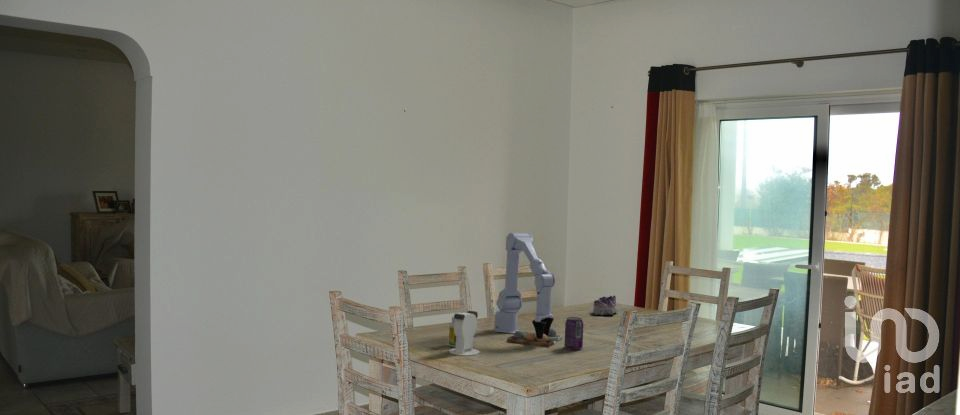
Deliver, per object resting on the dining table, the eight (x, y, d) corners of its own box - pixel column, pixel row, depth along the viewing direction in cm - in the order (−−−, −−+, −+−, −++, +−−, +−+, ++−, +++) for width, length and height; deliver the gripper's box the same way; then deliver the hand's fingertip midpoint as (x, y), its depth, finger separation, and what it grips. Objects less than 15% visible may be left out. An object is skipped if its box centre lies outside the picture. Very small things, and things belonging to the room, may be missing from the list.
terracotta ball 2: (535, 343, 304) (536, 333, 304) (539, 341, 308) (539, 332, 308) (545, 344, 303) (545, 334, 302) (548, 343, 306) (548, 333, 306)
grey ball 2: (545, 338, 315) (545, 328, 315) (548, 336, 319) (548, 327, 319) (554, 339, 314) (554, 329, 314) (557, 337, 317) (557, 328, 317)
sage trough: (513, 338, 314) (513, 335, 314) (522, 334, 325) (522, 330, 324) (554, 343, 307) (554, 340, 307) (562, 339, 317) (562, 335, 317)
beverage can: (584, 347, 302) (585, 317, 302) (580, 351, 296) (581, 320, 295) (566, 345, 305) (567, 316, 304) (562, 349, 298) (563, 318, 298)
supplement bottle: (460, 343, 301) (461, 315, 301) (467, 347, 296) (468, 318, 295) (446, 344, 298) (447, 316, 298) (453, 348, 293) (454, 319, 292)
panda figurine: (460, 347, 295) (461, 308, 294) (485, 351, 289) (487, 312, 289) (443, 352, 285) (444, 312, 284) (469, 357, 279) (470, 316, 278)
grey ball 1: (512, 340, 308) (512, 330, 308) (515, 339, 312) (516, 329, 312) (521, 341, 307) (522, 332, 306) (525, 340, 310) (525, 330, 310)
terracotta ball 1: (524, 342, 306) (524, 332, 306) (527, 340, 310) (527, 330, 310) (533, 343, 305) (533, 333, 304) (536, 341, 308) (537, 331, 308)
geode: (597, 309, 397) (600, 291, 397) (619, 315, 393) (622, 296, 393) (588, 314, 378) (592, 294, 378) (611, 319, 374) (615, 299, 374)
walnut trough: (506, 341, 308) (507, 338, 308) (512, 339, 314) (512, 335, 313) (549, 347, 301) (549, 343, 301) (553, 344, 306) (554, 340, 306)
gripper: (547, 306, 296) (546, 341, 297) (558, 301, 310) (557, 335, 310) (530, 304, 299) (529, 339, 300) (542, 300, 313) (541, 333, 313)
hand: (542, 337), depth 305 cm, fingers open, 7 cm apart
